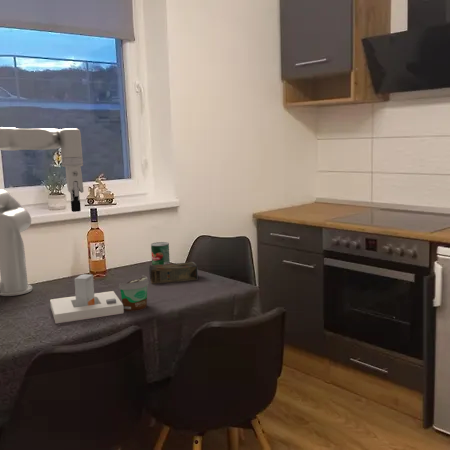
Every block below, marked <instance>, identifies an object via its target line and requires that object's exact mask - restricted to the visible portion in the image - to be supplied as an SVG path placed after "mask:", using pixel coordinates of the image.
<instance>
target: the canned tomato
mask: <svg viewBox="0 0 450 450" xmlns="http://www.w3.org/2000/svg"><path fill="white" fill-rule="evenodd" d="M169 244H170V243H169V242H167V241H166V242H165V241H159V242H157V241H156V242H153V243H151V244H150V250H151V265H161V264H171V262H170V261H171V260H170V259H171V258H170V245H169Z"/></svg>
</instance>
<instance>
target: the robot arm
mask: <svg viewBox="0 0 450 450" xmlns="http://www.w3.org/2000/svg"><path fill="white" fill-rule="evenodd" d="M82 147H83V145H82V133H81V131H80V129H78V128H77V127H76V128H73V127H72V128H71V127H70V128H62V129H61V128H60V129H58V128H16V127H13V126H12V127H10V126H9V127H3V126H1V127H0V151H12V152H13V151H22V150H23V151H27V150H29V151H38V150H39V151H42V150H43V151H44V150H45V151H47V150H56V149H60V157H61V159H60V160H61V167H63V168H65V178H66V179H65V180H66V186H67V191H68V193H70V206H71V207H70V209H71V213H76V212H77V213H79V212H81V210H82V209H81V199H80V193H82V194H83V193H84V192H85V191H84V182H83V181H84V180H83V174H82V173H83V172H82V167H83V166H84V161H83V160H84V158H83V148H82ZM31 224H32V216H31V215H30V213H29V212H28V210H27V209H26V208H25V207H24V206H23V205H22V204H21V203H20V202H19V201H18V200H17V199H16V198H15V197H14V196H13V195H12V194H11V193H10V192H8V191H7V190H5V189H3V188H0V296H2V297H14V296H21V295H25V294H28V293H30V292H31V291H33V286H32V285H31V284H29V281H28V273H27V263H26V253H25V245H24V240H23V237H22V234H21V233H23V232H24V231H27V230H28V229H29V228H30V226H31Z"/></svg>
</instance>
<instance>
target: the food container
mask: <svg viewBox="0 0 450 450" xmlns="http://www.w3.org/2000/svg"><path fill="white" fill-rule="evenodd" d="M149 281H150V280H149V278H148V277H147V276H146V275H144V274H142V275H141V277H140V278H139V277H138V278H137V279H131V280H129V281H128V282H126V283H123V282H119V284H118V290H120V297H121V302H122V304H123V309H124V312H136V311H138V312H139V311H142V310H144V309H147V306H148V303H147V302H148V286H149V285H150V282H149Z"/></svg>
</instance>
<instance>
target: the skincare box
mask: <svg viewBox="0 0 450 450" xmlns="http://www.w3.org/2000/svg"><path fill="white" fill-rule="evenodd" d="M74 290H75V291H74V292H75V295H74V296H76V307H82V306H89V305H95V298H94V294H95V286H94V275H93V274H85V273H84V274H80V275H78V276H77V277H75V278H74Z"/></svg>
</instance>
